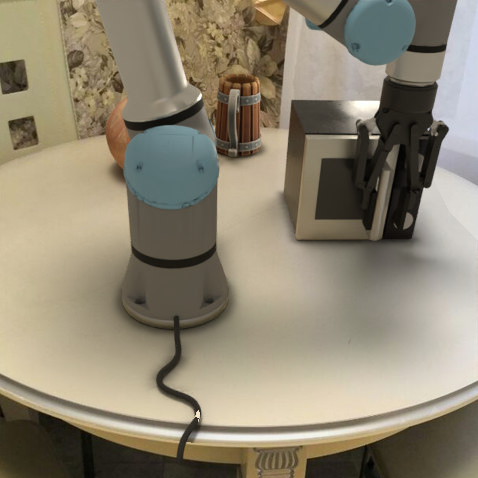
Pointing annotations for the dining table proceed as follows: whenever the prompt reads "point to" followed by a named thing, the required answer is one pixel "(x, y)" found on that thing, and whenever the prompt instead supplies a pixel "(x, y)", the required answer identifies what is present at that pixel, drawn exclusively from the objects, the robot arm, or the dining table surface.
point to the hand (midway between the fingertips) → (382, 225)
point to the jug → (117, 133)
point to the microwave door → (339, 190)
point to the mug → (238, 115)
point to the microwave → (343, 123)
